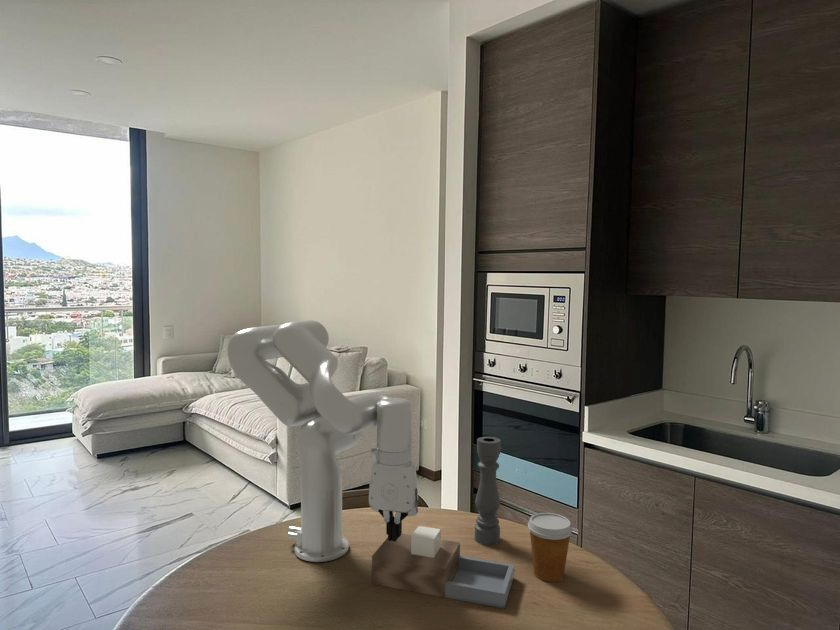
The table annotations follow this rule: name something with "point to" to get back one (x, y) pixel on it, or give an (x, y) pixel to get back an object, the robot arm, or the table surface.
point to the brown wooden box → (415, 566)
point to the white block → (425, 541)
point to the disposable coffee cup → (549, 545)
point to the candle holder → (487, 492)
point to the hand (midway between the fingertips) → (394, 538)
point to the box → (481, 582)
